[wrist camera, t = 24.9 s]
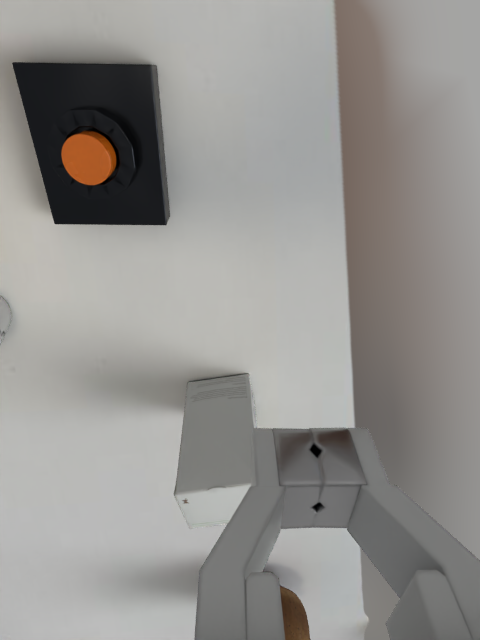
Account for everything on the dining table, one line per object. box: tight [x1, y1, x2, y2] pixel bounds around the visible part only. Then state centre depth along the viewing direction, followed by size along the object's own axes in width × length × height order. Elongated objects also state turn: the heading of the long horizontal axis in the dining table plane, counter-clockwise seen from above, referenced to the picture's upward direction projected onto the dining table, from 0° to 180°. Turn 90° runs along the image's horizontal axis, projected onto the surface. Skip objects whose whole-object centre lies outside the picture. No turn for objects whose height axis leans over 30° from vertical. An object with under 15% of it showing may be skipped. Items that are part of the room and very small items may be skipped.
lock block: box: [12, 62, 170, 225], centre depth 31 cm, size 12×10×4 cm
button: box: [61, 131, 116, 185], centre depth 29 cm, size 4×4×2 cm
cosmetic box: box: [174, 374, 257, 529], centre depth 43 cm, size 8×7×16 cm
